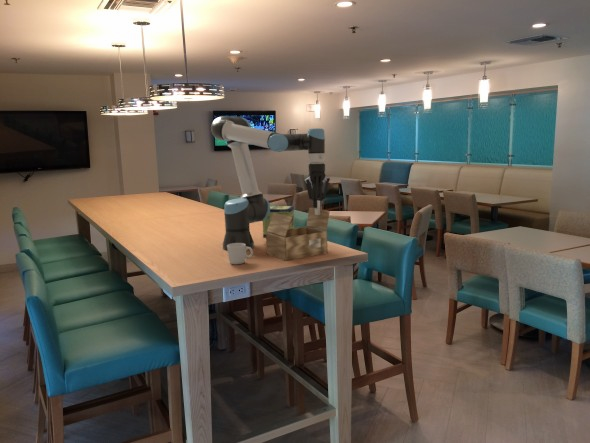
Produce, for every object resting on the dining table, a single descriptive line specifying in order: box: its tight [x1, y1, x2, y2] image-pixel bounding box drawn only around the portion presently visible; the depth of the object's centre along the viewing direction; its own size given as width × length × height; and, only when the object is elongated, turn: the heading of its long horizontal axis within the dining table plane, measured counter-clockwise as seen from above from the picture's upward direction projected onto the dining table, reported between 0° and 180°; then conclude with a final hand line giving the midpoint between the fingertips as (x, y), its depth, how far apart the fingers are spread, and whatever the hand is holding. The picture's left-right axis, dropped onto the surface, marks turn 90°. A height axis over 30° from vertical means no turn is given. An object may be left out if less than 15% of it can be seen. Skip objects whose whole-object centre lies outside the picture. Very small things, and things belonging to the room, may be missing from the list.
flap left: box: [267, 213, 292, 237], centre depth 211 cm, size 1×16×9 cm, turn 31°
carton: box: [265, 226, 328, 262], centre depth 217 cm, size 22×18×10 cm
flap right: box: [305, 207, 330, 232], centre depth 221 cm, size 1×16×9 cm, turn 31°
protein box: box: [262, 205, 295, 238], centre depth 259 cm, size 10×16×16 cm
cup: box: [226, 243, 254, 265], centre depth 203 cm, size 11×8×8 cm
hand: (317, 214), depth 220 cm, fingers closed
